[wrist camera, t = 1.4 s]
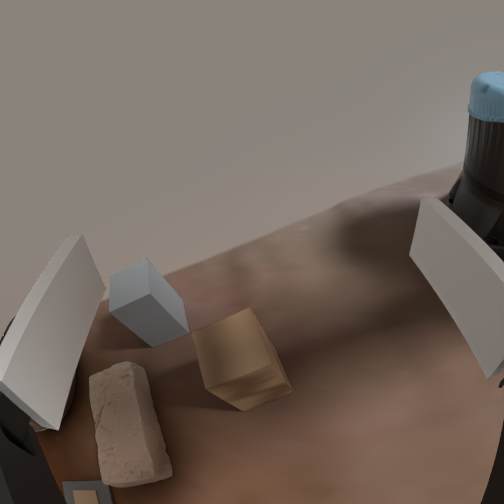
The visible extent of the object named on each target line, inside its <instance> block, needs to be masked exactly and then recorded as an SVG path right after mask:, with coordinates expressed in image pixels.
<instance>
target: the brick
mask: <svg viewBox="0 0 504 504" xmlns="http://www.w3.org/2000/svg"><path fill="white" fill-rule="evenodd" d="M89 392H90V403H91V409H92V412H93V418H94V421H95V423H96V424H95V429H96V434H95V438H96V443H97V444H98V459H99V466H100V473H101V477H102V481H103V483H104V484H106V485H111V486H113V487H119V488H125V487H133V486H137V485H143V484H146V483H153V482H157V481H159V480H164V479H167V478H169V477H171V476H172V473H173V471H172V465H171V462H170V458H169V456H168V454H167V453H166V451H165V449H166V444H165V442H164V440H163V436H162V433H161V429H160V425H159V423H158V419H157V416H156V412H155V408H154V404H153V401H152V398H151V392H150V387H149V383H148V379H147V375H146V372H145V369H144V368H143V367H141V366H139V365H137V364H136V363H133V362H130V361H125V362H122V363H117V364H115V365H112V366H111V368H108V369H105V370H103V371H102V372H98V373H96V374H94V375H91V376H90V377H89Z"/></svg>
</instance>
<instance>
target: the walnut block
mask: <svg viewBox="0 0 504 504" xmlns="http://www.w3.org/2000/svg"><path fill="white" fill-rule="evenodd" d="M192 336H193V341H194V345H195V349H196V354H197V358H198V362H199V366H200V370H201V374H202V378H203V382H204V386H205V389H206V390H207V391H209V392H211V393H212V394H214V395H216V396H217V397H219V398H221V399H222V400H224V401H226V402H227V403H229V404H231V405H233V406H234V407H236V408H238V409H240V410H241V411H246V410H249V409H252V408H254V407H257V406H260V405H262V404H265V403H267V402H270V401H272V400H275V399H277V398H280V397H282V396H285V395H287V394H289V393H292V392H293V391H292V388H291V386H290V383H289V381H288V379H287V376H286V374H285V372H284V369H283V367H282V364H281V362H280V360H279V357H278V355H277V352H276V350H275V348H274V346H273V345H272V343H271V341H270V340H269V338H268V336H267V335H266V333H265V331H264V330H263V328H262V327H261V325H260V323H259V322H258V320H257V318H256V317H255V315H254V313H253V312H252V310H251V308H250V307H249V308H247V309H245V310H243V311H240V312H238V313H236V314H233V315H231V316H229V317H227V318H224V319H222V320H220V321H217V322H215V323H213V324H210V325H208V326H205V327H203V328H201V329H198V330H196V331H193V332H192Z"/></svg>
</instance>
